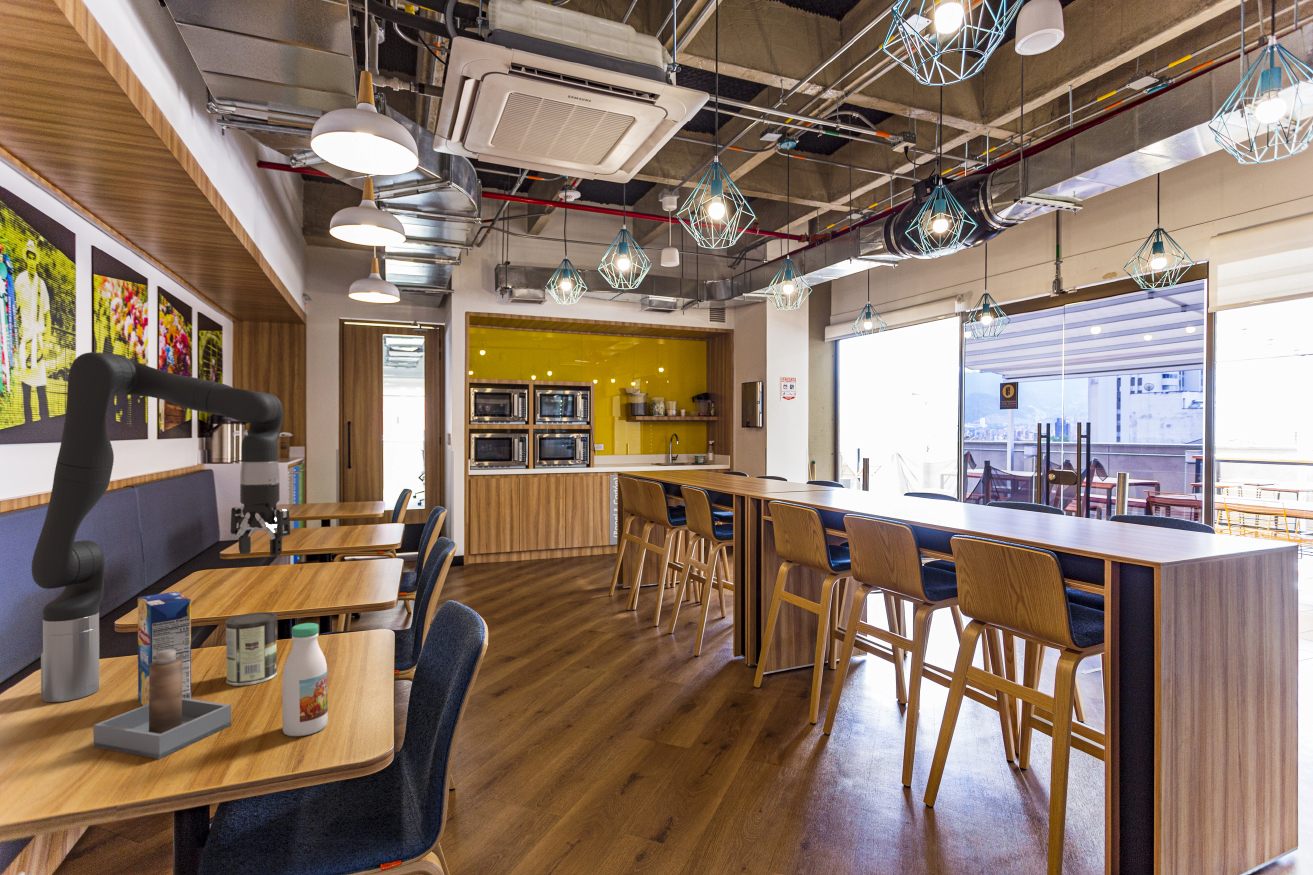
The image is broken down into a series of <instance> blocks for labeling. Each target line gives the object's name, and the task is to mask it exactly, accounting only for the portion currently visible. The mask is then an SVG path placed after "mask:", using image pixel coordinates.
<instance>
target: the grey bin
mask: <svg viewBox="0 0 1313 875" xmlns="http://www.w3.org/2000/svg"><path fill="white" fill-rule="evenodd" d="M230 726H232V705H231V704H227V703H221V702H214V701H208V700H207V701H206V700H201V699H193V698H191V699H188V698H182V725H180V726H177V727H175V728H173V729H171V730H168V731H166V732H164V733H161V734H159V733H153V732H149V704H147V705H142V706H139V707H136V708H134V709H132V710H129V711H125V712H124V713H121V714H118V715H116V716H113V717H111V718H108V719H106V720H103V721H100V722H98V723H96V724H93V748H97V749H98V748H99V749H102V748H103V750H110V751H113V750H114V751H115V752H120V753H125V754H131V755H136V756H141V757H145V756H146V757H147V758H152V759H156V760H160V759H163V758H165V757H167V756H169V755H172V754H173V753H176V752H178V751H180V750H182V749H184V748H186V747H188V746H190V745H192V744H194V743H197V742H199V741H201V740H203V739H205V738H207V737H209V736H212V735H214V734H216V733H219V732H220V731H222V730H224V729H227V728H229V727H230Z"/></svg>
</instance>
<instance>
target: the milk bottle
mask: <svg viewBox="0 0 1313 875" xmlns="http://www.w3.org/2000/svg"><path fill="white" fill-rule="evenodd" d="M319 627H320V626H319V624H318V623H314V622H305V623H299V624H296V625H294V626H292V628H291V640H292V646H291V649H290V651H289V654H288V656H287V658H286V660H285V662H284V667H283V671H282V696H281V697H282V700H281V701H282V705H281V706H282V709H281V710H282V717H281V718H282V719H281V720H282V732H283V734H284V735H286V736H288V737H305V736H309V735H312V734H316V733H318V732H320V731H322V730H324V728H326V726H327V724H328V720H329V718H328V716H329V713H328V708H329V707H328V704H329V703H328V701H329V700H328V694H329V692H328V691H329V690H328V689H329V688H328V686H329V685H328V665H327V661H326V657H325V655H324V653H323V651H322V649H321V648H320V645H319V642H318V637H319Z"/></svg>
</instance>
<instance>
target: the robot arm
mask: <svg viewBox="0 0 1313 875" xmlns="http://www.w3.org/2000/svg"><path fill="white" fill-rule="evenodd" d="M66 388H67V390H66V391H67V392H66V407H65V408H66V410H65V416H64V417H65V418H64V423H63V429H62V435H61V439H60V440H61V441H60V447H59V450H58V454H57V455H58V456H57V459H56V463H55V468H54V474H53V482H52V489H51V492H50V493H51V494H50V497H49V502H48V506H47V511H46V513H45V514H46V515H45V519H44V522H43V526H42V528H41V532H40V535H39V538H38V540H37V544H36V547H35V549H34V553H33V556H32V560H31V575H32V579H33V581H34V583H35V584H36V585H37V586H38V587H40V588H41V589H46V590H49V589H50V590H51V589H60V588H63V587H64V589H63V591H62V592H61V593H60V594H59V595H58V596H57V597H56V598H54V599H53V600H52V601H50V602H48V603H46V604H45V605H44V606H43V609H42V652H41V654H40V697H41V698H42V700H43V701H44V702H47V703H60V702H68V701H73V700H77V699H82V698H84V697H88V696H91V695H93V694H95V693H96V692H98V691H99V690H100V605H101V602H102V600H103V597H104V586H105V572H106V568H105V567H106V562H105V554H104V551H103V550H102V547H101V546H100V545H99V544H98V543H97V542H96V541H93V540H89V539H88V540H86V539H85V540H84V539H82V540H76V541H75V539H76V536H77V533H78V530H79V528H80V526H81V524H82V522H83V521H84V519H85V518H86V517H87V515H88V514H89V513H90V512H91V511H92V509H93V508H94V507H95V506H97V504H98V502H99V501H100V500H101V499H102V498H103V496H104V494H105V493H106V492H107V491H108V490H107V489H108V487H109V486H110V483H111V477H112V472H113V466H114V461H115V460H114V458H115V457H114V455H115V454H114V450H113V446H112V443H111V439H110V437H109V434H108V429H107V423H106V422H107V413H108V408H109V403H110V400H111V397H117V396H141V397H148V398H156V399H159V400H163V401H166V402H168V403H171V404H174V405H177V406H179V407H182V408H186V409H189V410H192V411H195V412H196V411H197V412H201V413H205V414H210V415H215V416H216V415H217V416H222V417H225V418H229V419H233V420H235V421H239V422H244V423H247V424H249V426H248V434H247V435H245V436H244V437H243V438H242V441H241V463H240V464H241V465H240V470H239V471H240V472H239V475H240V476H239V478H240V479H239V480H240V483H239V498H240V499H239V502H240V504H242V505H243V506H237V507H232V508H231V514H230V515H231V516H230V534H232V535H236V538H238V551H239V554H240V555H247V554H250V553H251V552H252V551H251V550H252V548H251V542H252V541H251V536H250V535H251V534H252V533H253V531H254V529H256V528H258V529H263V531H264V532H266V533H267V534H268V536H269V538H270V539H269V555H270V557H277V556H280V555H281V554H282V550H283V546H282V544H283V538H284V537H287V536H290V534H291V521H290V519H291V518H290V509H289V508H281V509H280V508H279V509H278V507H277V504H278V503H279V502H280V492H281V491H280V468H279V439H280V436H281V435H280V434H281V431H282V427H283V426H282V425H283V419H284V418H283V417H284V409H283V405H282V402H281V400H280V399H279V398H278V397H277V396H276V395H274V394H273V393H268V392H261V391H256V390H248V389H242V388H237V387H233V386H231V385H228V384H225V383H220V382H216V381H214V380H213V381H212V380H209V379H203V378H197V377H192V376H187V375H181V374H176V373H172V372H168V371H164V370H160V369H157V368H154V367H151V366H148V365H146V364H143V363H141V362H139V361H136V360H133V359H131V358H128V357H125V356H123V355H120V354H115V353H107V352H95V351H94V352H85V353H81V354H80V355H79V356H77V357H76V358H75V359H74V360H73V361H72V363H71V365H70V368H69V371H68V376H67V387H66Z"/></svg>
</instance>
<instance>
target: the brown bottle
mask: <svg viewBox="0 0 1313 875" xmlns="http://www.w3.org/2000/svg"><path fill="white" fill-rule="evenodd" d="M180 725H182V659H181V658H176V650H175V649H168V650H162V651H159V652H157V653H156V661H155V662H152V663H151V664H150V665H149V732H153V733H159V734H161V733H164V732H166V731H168V730H171V729H173V728H175V727H177V726H180Z"/></svg>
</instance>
